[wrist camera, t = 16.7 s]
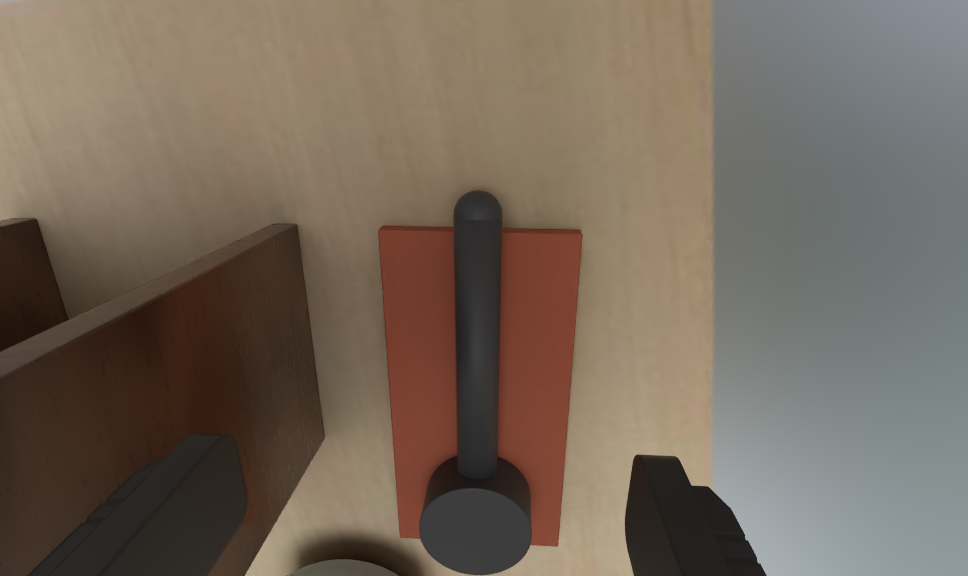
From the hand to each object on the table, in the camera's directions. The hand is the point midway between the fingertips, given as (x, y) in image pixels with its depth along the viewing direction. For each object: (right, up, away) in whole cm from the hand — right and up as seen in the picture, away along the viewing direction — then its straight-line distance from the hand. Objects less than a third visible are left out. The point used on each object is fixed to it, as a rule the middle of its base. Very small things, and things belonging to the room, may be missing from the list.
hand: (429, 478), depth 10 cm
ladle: (+1, -1, +14) cm, 14 cm away
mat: (+1, -2, +15) cm, 15 cm away
